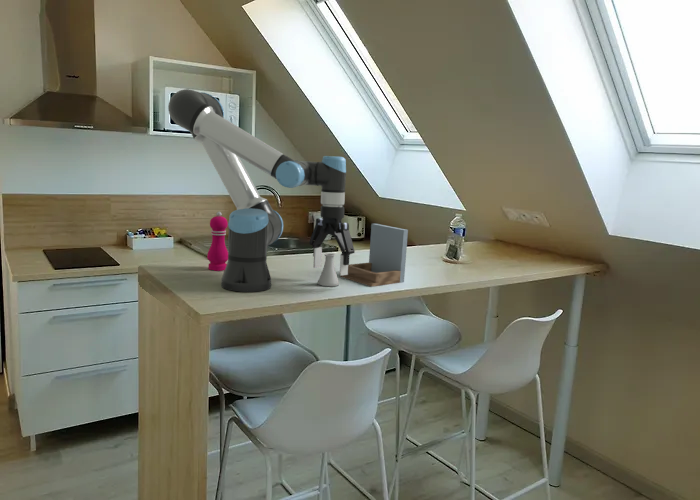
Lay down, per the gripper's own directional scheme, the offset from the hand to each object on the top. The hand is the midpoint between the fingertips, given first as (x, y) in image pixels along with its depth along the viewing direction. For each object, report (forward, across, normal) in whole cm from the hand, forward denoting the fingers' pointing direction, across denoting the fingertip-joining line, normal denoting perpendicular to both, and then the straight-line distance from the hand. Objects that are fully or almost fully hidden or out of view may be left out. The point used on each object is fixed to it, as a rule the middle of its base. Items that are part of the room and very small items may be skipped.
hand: (330, 271), depth 188 cm
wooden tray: (+5, -1, -17) cm, 18 cm away
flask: (+5, 0, 0) cm, 5 cm away
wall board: (+5, -1, -25) cm, 25 cm away
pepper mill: (+4, +35, +21) cm, 41 cm away
